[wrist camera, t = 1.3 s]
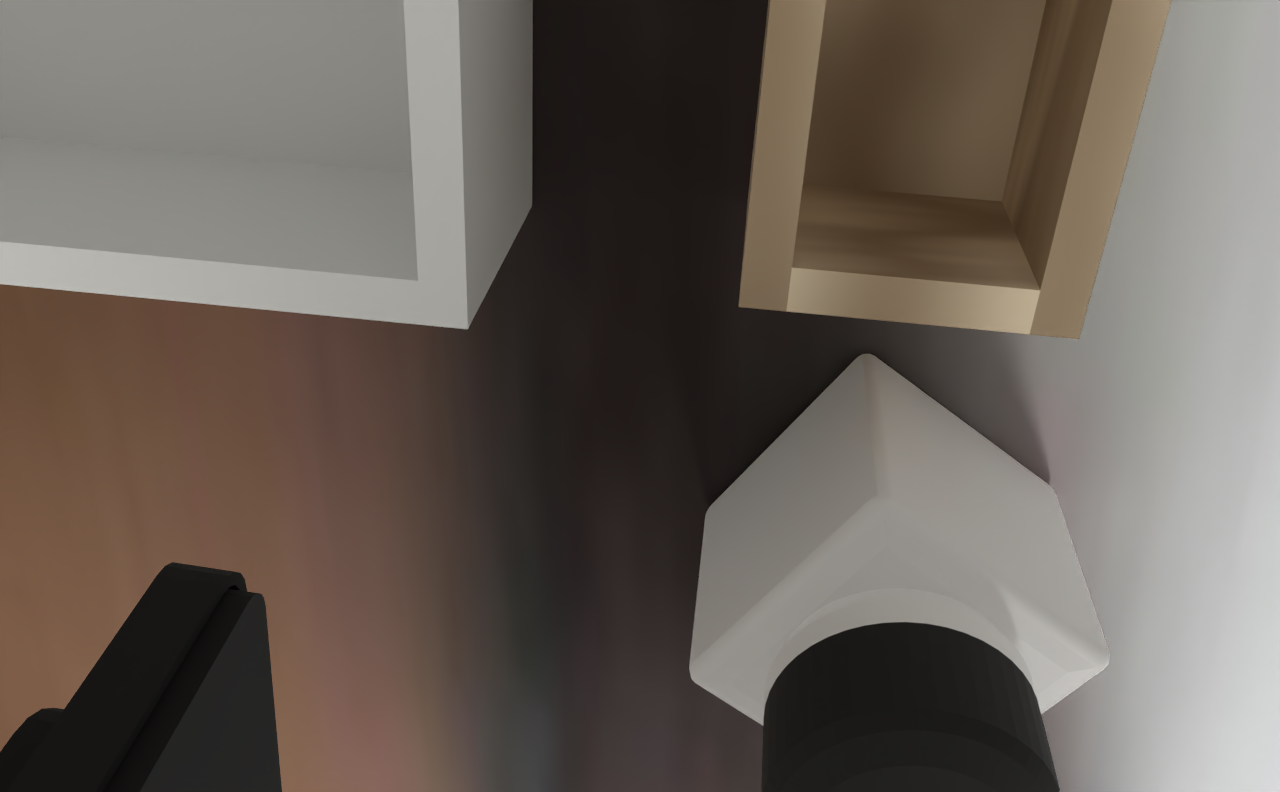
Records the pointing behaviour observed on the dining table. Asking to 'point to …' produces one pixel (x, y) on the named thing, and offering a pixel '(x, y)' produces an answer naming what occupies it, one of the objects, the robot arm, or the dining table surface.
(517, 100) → the grey plastic crate
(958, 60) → the small wooden crate
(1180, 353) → the dining table surface
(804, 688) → the medicine bottle
